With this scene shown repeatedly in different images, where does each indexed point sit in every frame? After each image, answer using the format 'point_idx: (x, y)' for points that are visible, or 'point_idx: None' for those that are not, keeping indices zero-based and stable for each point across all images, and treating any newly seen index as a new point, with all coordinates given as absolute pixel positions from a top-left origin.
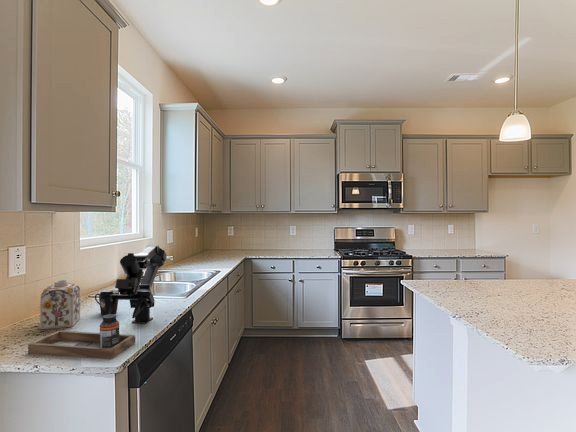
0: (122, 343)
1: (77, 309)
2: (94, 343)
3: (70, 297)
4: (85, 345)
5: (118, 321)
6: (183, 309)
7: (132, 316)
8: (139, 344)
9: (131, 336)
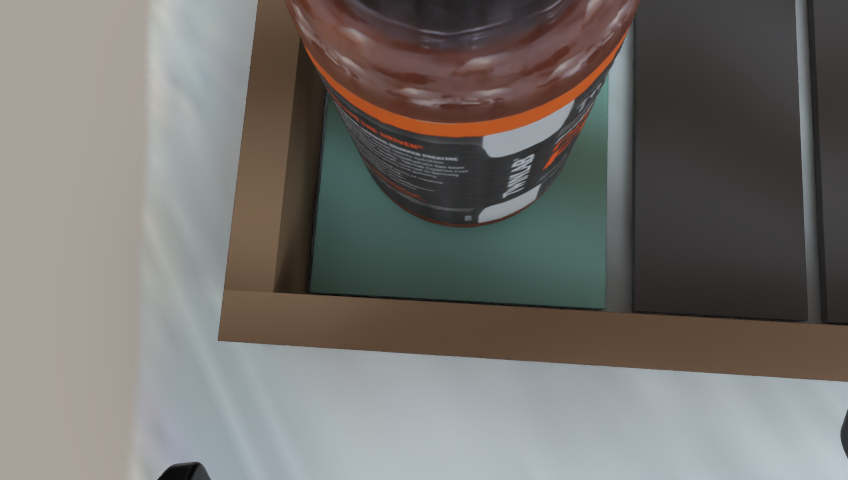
0: (253, 45)
1: None
2: (768, 264)
3: None
4: (836, 189)
5: (305, 12)
6: None
7: (182, 472)
8: (193, 321)
9: (246, 282)
